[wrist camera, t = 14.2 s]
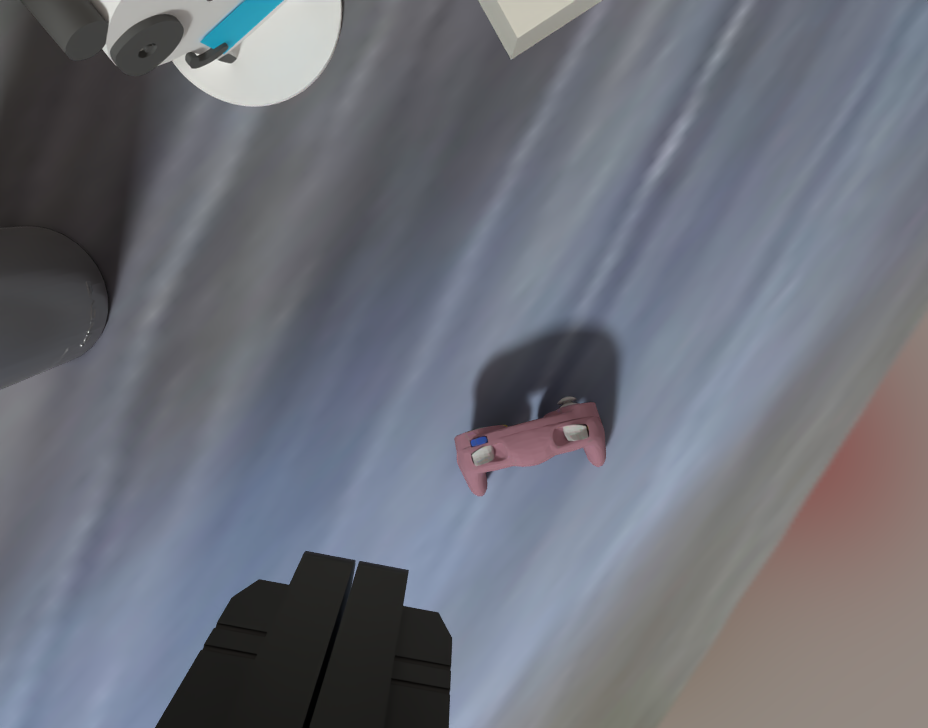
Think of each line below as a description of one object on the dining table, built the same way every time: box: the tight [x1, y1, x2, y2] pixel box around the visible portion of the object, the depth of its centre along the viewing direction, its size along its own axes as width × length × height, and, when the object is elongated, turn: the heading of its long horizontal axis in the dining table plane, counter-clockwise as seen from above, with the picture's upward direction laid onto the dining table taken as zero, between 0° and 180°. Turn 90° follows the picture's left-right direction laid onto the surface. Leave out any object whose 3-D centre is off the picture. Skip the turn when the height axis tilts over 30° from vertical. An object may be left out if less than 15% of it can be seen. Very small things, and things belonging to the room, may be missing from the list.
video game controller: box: [455, 397, 606, 496], centre depth 46 cm, size 10×5×7 cm, turn 105°
